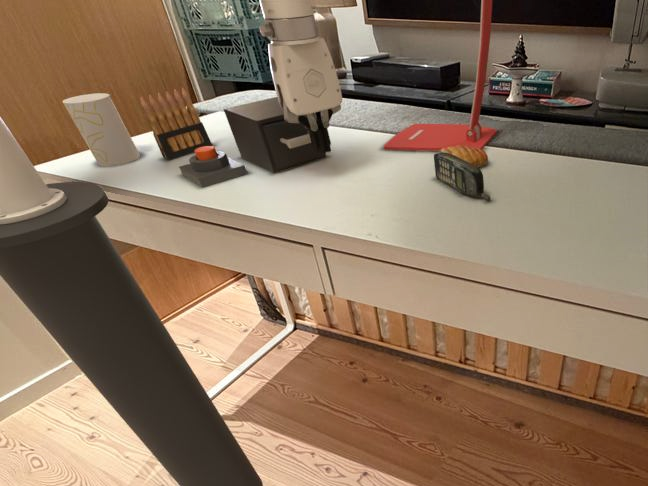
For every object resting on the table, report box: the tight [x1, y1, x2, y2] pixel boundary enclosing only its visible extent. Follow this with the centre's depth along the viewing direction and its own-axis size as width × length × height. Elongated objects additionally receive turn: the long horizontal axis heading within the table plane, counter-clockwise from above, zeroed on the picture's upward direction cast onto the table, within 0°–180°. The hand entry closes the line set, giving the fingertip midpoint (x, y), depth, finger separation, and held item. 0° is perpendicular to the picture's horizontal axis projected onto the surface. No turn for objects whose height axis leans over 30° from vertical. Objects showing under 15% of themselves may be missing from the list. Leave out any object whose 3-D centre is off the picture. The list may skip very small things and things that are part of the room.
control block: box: [178, 150, 248, 188], centre depth 91 cm, size 9×10×4 cm
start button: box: [194, 145, 218, 160], centre depth 89 cm, size 4×4×2 cm
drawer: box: [262, 113, 327, 169], centre depth 93 cm, size 18×11×8 cm, turn 46°
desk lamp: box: [383, 0, 498, 152], centre depth 91 cm, size 18×38×40 cm, turn 73°
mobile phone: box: [433, 152, 491, 201], centre depth 80 cm, size 5×3×15 cm
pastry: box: [440, 145, 489, 169], centre depth 89 cm, size 9×7×4 cm
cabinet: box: [223, 96, 327, 174], centre depth 95 cm, size 15×12×10 cm
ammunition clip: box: [140, 87, 213, 161], centre depth 99 cm, size 11×2×12 cm, turn 146°
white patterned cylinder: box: [61, 92, 141, 167], centre depth 97 cm, size 8×8×12 cm
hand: (323, 151), depth 85 cm, fingers closed
